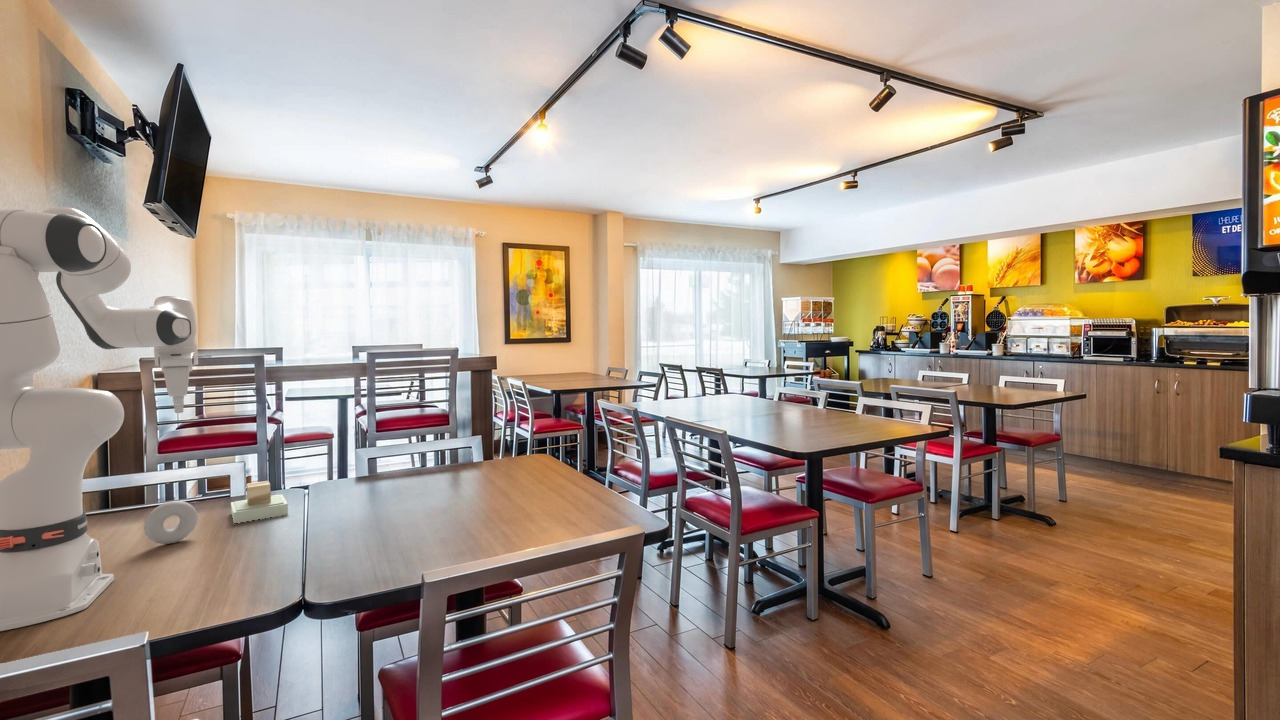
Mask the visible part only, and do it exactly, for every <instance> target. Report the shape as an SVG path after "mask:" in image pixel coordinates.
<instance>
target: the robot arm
mask: <svg viewBox="0 0 1280 720" xmlns="http://www.w3.org/2000/svg"><path fill="white" fill-rule="evenodd" d="M131 271H132V264H131V261H130V258H129V257H128V254H127V253H126V251H124V249H123V248H122V247H121V246H120V245H119V243H118V242H117V241H116V240H115V239H114V238H113V236H111V234H110V233H108V231H107V230H105V229H104V228H103V227H102V226H101V225H100V224H99V223H97V222H96V221H95V220H94V219H93V218H91V217H90V216H88V215H87V213H85V212H82V211H81V210H79V209H76V208H73V207H68V206H67V207H65V206H59V207H58V206H55V207H51V208H48V209H45V210H42V211H28V210H25V209H24V210H23V209H0V450H11V449H13V450H16V449H30V453H29V454H30V455H29V458H28V461H27V463H26V464H25V466H24V467H22V468H20V469H17V470H16V471H14V472H11V473H9V474H8V475H6V476H5V477H3V479H2V480H0V632H4V631H8V630H12V629H13V630H14V629H18V628H23V627H27V626H32V625H36V624H40V623H43V622H47V621H50V620H51V621H52V620H55V619H56V620H57V619H59V618H62V617H66V616H69V615H72V614H74V613H77V612H80V611H84V610H86V609H87V608H88V607H89V606H90V605H91V604H92V603H93V602H94V601H95V600H96V599H97V598H98V597H100V595H101V594H102V593H103V592H104V591H105V590H106V589H107V588H108V587H109V586H110V584H111V583H113V582H114V581H115V576H114V573H103V571H102V562H101V553H100V543H99V540H98V539H96V538H94V537H91V536H90V535H88V534H87V531H88V518H87V514H86V512H85V511H83V479H84V474H85V469H86V467H87V465H88V462H89V461H90V459H91V457H92V456H93V454H94V453H95V452H96V450H97V449H98V448H99V447H101V445H103V444H104V443H105V442H106V441H108V440H110V439H111V438H113V437H114V436H115V435H116V434H117V433H118V431H119V430H120V429H121V427H122V425H123V423H124V420H125V409H124V406H123V403H122V402H121V399H119V398H118V397H117V396H116V395H115V394H114V393H113V392H111V391H107V390H102V389H101V390H100V389H95V388H94V389H93V388H87V387H86V388H85V387H58V388H57V387H55V388H54V387H53V388H36V387H35V385H34V373H37V372H39V371H40V370H43V369H45V368H46V367H48V366H50V365H52V364H53V363H54V362H55V361H56V360H57V359H58V357H59V355H60V353H61V345H60V342H59V339H58V338H59V336H58V334H57V329H56V327H55V322H54V318H53V313H52V310H51V307H50V304H49V300H48V299H47V295H46V292H45V290H44V288H43V286H42V284H41V281H40V280H39V276H40V275H39V274H40V273H52V272H54V273H57V274H56V277H55V282H56V286H57V288H58V290H59V292H60V294H61V296H62V297H63V298H64V301H65V302H66V303H67V305H69V307H70V308H71V310H72V311H73V312H74V314H75V315H76V316H77V318H78V320H79V321H80V323H82V325H83V327H84V330H85V333H86V335H87V337H88V339H89V340H90V341H91V342H92V343H93V344H95V345H96V346H98V347H99V348H100V349H104V350H118V349H126V348H127V349H128V348H131V349H133V348H134V349H135V348H153V352H154V354H153V355H154V366H155V367H159V368H161V373H163V376H164V381H165V386H166V392H167V395H168V397H170V398H171V397H172V402H173V409H174V413H175V414H182V413H184V408H185V402H184V399H185V397H186V396H187V395H188V390H189V389H188V388H189V380H190V379H189V378H190V372H193V369H194V368H193V367H194V366H196V365H199V354H198V353H199V352H198V344H197V342H196V334H197V330H198V329H197V322H196V321H197V319H196V314H195V313H196V312H195V310H194V307H193V304H192V301H191V300H190V299H187V298H184V297H177V296H167V295H166V296H159V297H156V298H155V300H154V302H153V303H154V304H153V305H152V306H151V307H148V308H147V307H146V308H120V307H112V306H108V305H106V304H105V303H104V301H103V299H102V297H100V295H103V294H108V293H111V292H113V291H115V290H117V289H118V288H119V287H121V286H122V285H124V284H125V282H126V281H127V280H128V278H129V276H130V274H131Z"/></svg>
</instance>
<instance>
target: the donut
mask: <svg viewBox="0 0 1280 720" xmlns="http://www.w3.org/2000/svg"><path fill="white" fill-rule="evenodd" d="M172 516H176V517H178V518H179V522H178V523H177V525H176V526H175V527H174V528H171V529H170V528H169V529H167V528H165V526H164V522H165V520H167V518H169V517H172ZM198 518H199V516H198V513H197V510H196V509H195V507H194V506H193V505H192V504H190V503H189V502H186V501H181V500H171V501H167V502H164V503H161V504H160V505H158V506H156V507H155V508H153V509H152V510H151V512H150V513H148V515H147V517H146V519H145V521H144V525H143V530H144V533H145V536H146V537H147V538H148V539H149V540H150V542H151V541H152V542H153V543H156V544H158V545H159V544H160V545H168V544H169V545H170V544H171V543H172V544H175V543H178V542H181V541H183V540H184V539H186V538H187V537H188V536H189V535H190V534H192V533H193V531H194V530H195V528H196V526H197V524H198V520H199V519H198ZM172 544H171V545H172Z"/></svg>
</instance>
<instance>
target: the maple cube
mask: <svg viewBox="0 0 1280 720" xmlns="http://www.w3.org/2000/svg"><path fill="white" fill-rule="evenodd" d="M271 496H272V494H271V483H270V481H269V480H264V481H256V482H249V483H246V500H247V503H248V505H249V506H251V505H257V504H263V503H269V502H271Z"/></svg>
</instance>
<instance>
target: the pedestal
mask: <svg viewBox="0 0 1280 720" xmlns="http://www.w3.org/2000/svg"><path fill="white" fill-rule="evenodd" d="M288 505H289V504H288V502H287V500H286V498H285V497H284V494H282V493H281V494H274V495H273V494H271V502H269V503H263V504H257V505H251V506H249V505H248V503H247V499H242V500H235V501H232V502H230V513H231V518H233V519H232V523H233V522H234V523H238V524H241V523H240V522H244V523H247V522H246V521H249V522H253V521H252V520H255V521H259V520H258V519H260V520H265V518H266V519H271V518H270V517H272V518H276V516H277V517H281V516H282V515H283V516H287V515H289V507H288ZM234 523H233V524H234Z"/></svg>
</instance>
